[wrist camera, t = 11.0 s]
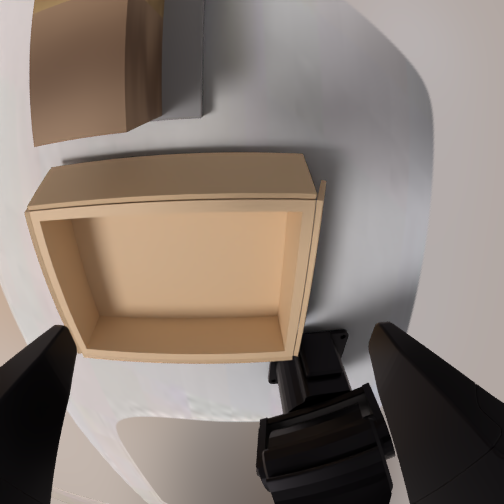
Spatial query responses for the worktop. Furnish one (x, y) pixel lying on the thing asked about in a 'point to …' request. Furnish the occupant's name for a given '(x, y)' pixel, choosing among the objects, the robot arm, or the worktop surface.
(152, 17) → the block
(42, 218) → the carton
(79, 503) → the worktop surface
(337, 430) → the robot arm
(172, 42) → the mat
